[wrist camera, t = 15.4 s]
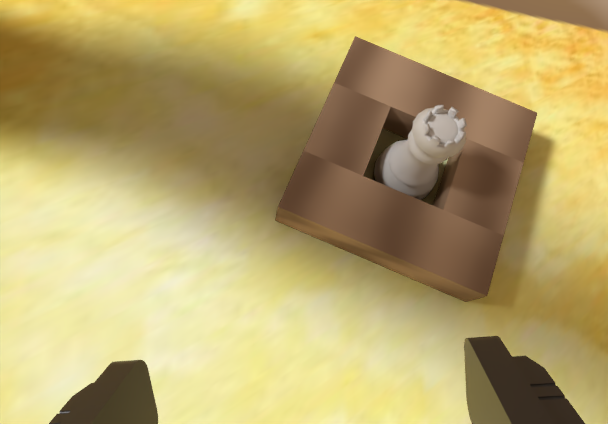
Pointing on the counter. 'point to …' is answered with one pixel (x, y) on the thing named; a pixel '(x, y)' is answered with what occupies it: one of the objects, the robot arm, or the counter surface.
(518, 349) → the counter surface
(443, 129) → the rook chess piece
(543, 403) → the robot arm
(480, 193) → the socket board
